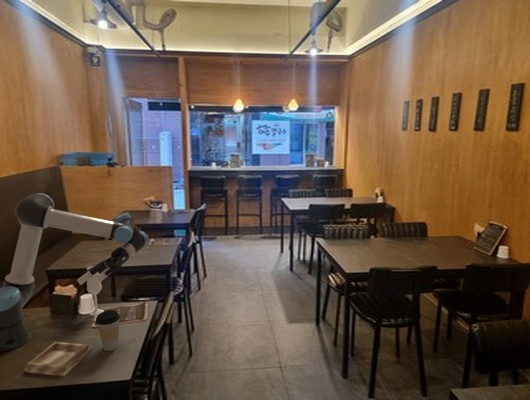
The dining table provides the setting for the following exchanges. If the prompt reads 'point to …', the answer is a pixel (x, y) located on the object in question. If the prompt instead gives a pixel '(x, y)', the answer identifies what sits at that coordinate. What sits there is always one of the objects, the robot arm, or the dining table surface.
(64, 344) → the wooden tray
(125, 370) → the dining table surface
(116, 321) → the coffee cup
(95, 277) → the champagne flute
